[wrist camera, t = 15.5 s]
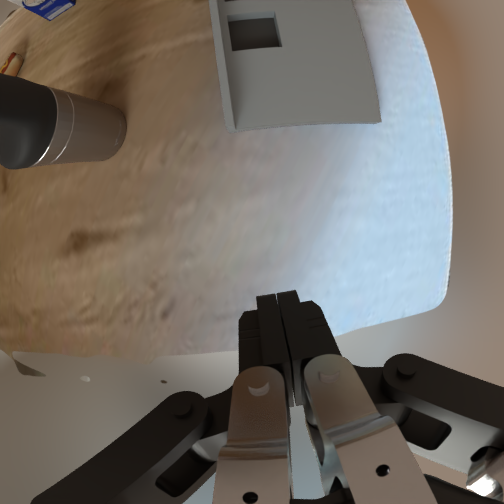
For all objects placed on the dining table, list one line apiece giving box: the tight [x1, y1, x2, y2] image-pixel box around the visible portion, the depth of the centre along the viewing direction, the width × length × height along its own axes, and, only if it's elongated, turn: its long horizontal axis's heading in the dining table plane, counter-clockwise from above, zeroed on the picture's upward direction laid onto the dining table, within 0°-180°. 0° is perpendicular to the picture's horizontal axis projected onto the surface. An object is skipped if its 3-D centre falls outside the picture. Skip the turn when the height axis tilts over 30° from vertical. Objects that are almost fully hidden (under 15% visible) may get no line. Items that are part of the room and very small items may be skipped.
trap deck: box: [209, 0, 381, 133], centre depth 27 cm, size 22×34×6 cm, turn 8°
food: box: [0, 52, 23, 77], centre depth 27 cm, size 14×6×5 cm, turn 140°
